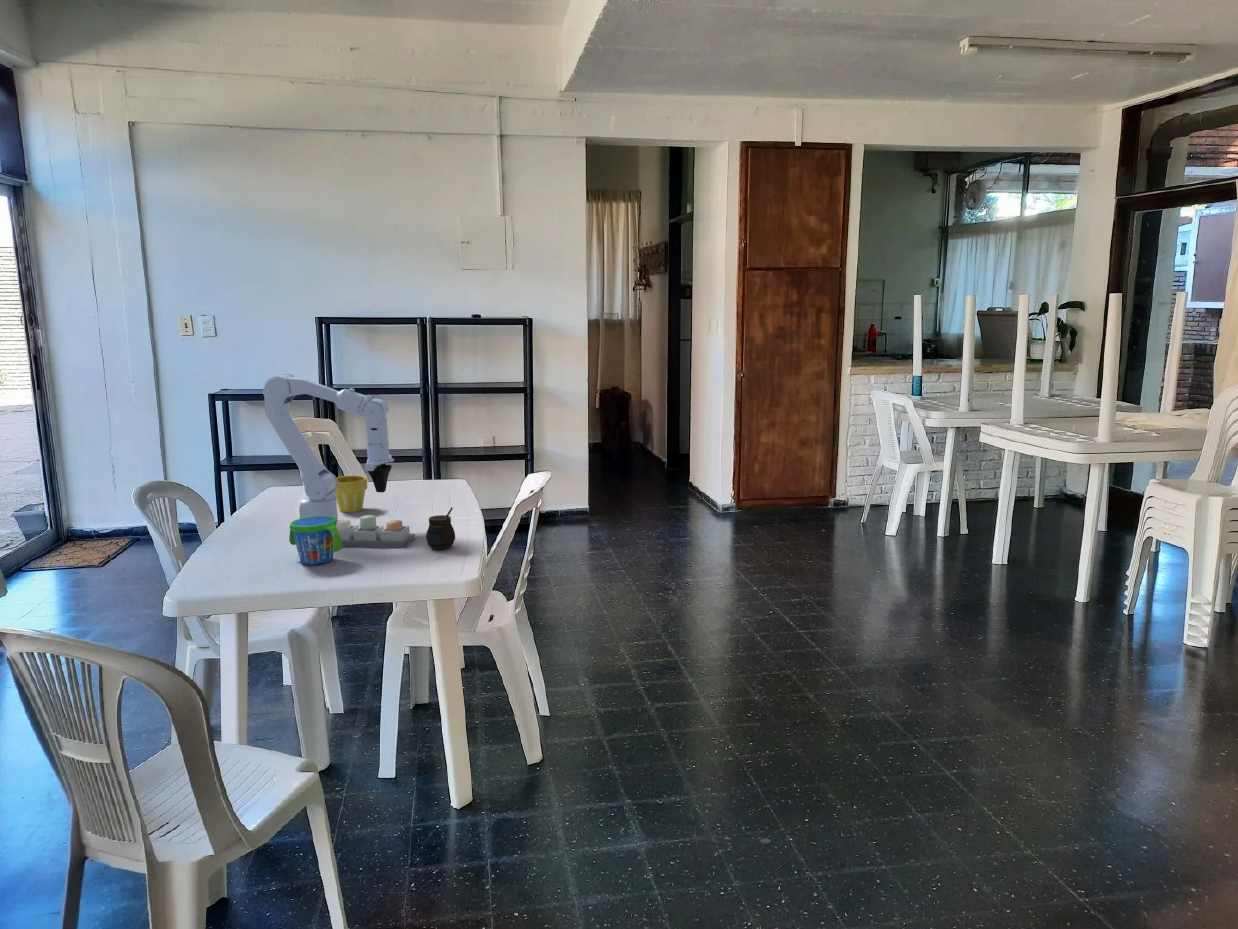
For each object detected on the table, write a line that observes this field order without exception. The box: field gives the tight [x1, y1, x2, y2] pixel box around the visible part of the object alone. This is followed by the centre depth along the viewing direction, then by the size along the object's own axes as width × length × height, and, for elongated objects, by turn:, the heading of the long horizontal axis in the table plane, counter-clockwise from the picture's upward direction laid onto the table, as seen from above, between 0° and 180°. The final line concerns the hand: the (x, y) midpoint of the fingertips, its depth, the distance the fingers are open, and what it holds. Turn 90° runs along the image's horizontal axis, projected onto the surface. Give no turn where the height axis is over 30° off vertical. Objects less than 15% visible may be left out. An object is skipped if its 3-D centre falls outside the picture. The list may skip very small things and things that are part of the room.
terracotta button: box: [385, 519, 403, 531], centre depth 217 cm, size 4×4×4 cm
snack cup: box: [288, 516, 343, 566], centre depth 201 cm, size 16×10×10 cm
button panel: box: [338, 525, 416, 549], centre depth 218 cm, size 22×9×4 cm, turn 85°
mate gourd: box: [425, 506, 456, 551], centre depth 211 cm, size 7×8×10 cm
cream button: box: [336, 519, 352, 531], centre depth 218 cm, size 4×4×4 cm
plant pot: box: [334, 474, 368, 513], centre depth 253 cm, size 10×10×10 cm
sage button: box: [359, 514, 377, 531], centre depth 217 cm, size 4×4×4 cm
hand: (381, 491), depth 230 cm, fingers closed
